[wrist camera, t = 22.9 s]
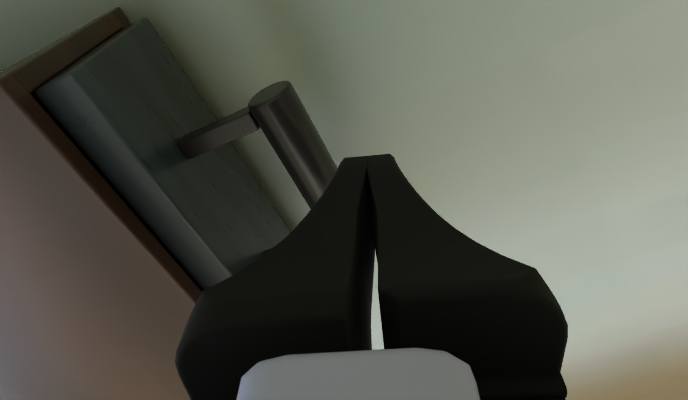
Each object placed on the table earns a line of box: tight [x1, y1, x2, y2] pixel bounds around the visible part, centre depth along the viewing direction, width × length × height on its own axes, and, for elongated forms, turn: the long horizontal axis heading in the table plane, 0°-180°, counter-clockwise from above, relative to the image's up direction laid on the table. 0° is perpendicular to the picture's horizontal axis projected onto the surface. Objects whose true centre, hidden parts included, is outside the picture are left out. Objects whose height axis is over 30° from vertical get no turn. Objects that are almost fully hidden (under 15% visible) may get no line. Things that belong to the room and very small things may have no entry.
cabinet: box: [0, 7, 201, 400], centre depth 19 cm, size 14×13×7 cm
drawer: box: [33, 18, 338, 292], centre depth 18 cm, size 17×12×5 cm
